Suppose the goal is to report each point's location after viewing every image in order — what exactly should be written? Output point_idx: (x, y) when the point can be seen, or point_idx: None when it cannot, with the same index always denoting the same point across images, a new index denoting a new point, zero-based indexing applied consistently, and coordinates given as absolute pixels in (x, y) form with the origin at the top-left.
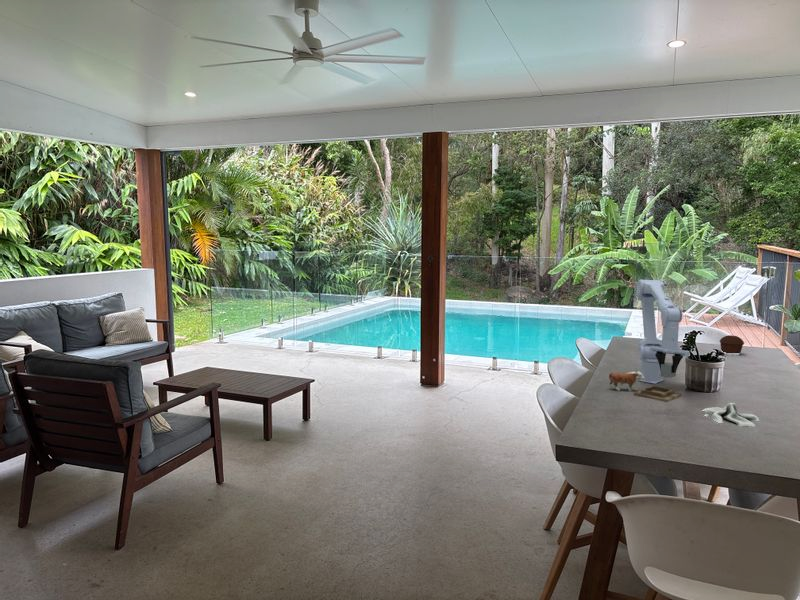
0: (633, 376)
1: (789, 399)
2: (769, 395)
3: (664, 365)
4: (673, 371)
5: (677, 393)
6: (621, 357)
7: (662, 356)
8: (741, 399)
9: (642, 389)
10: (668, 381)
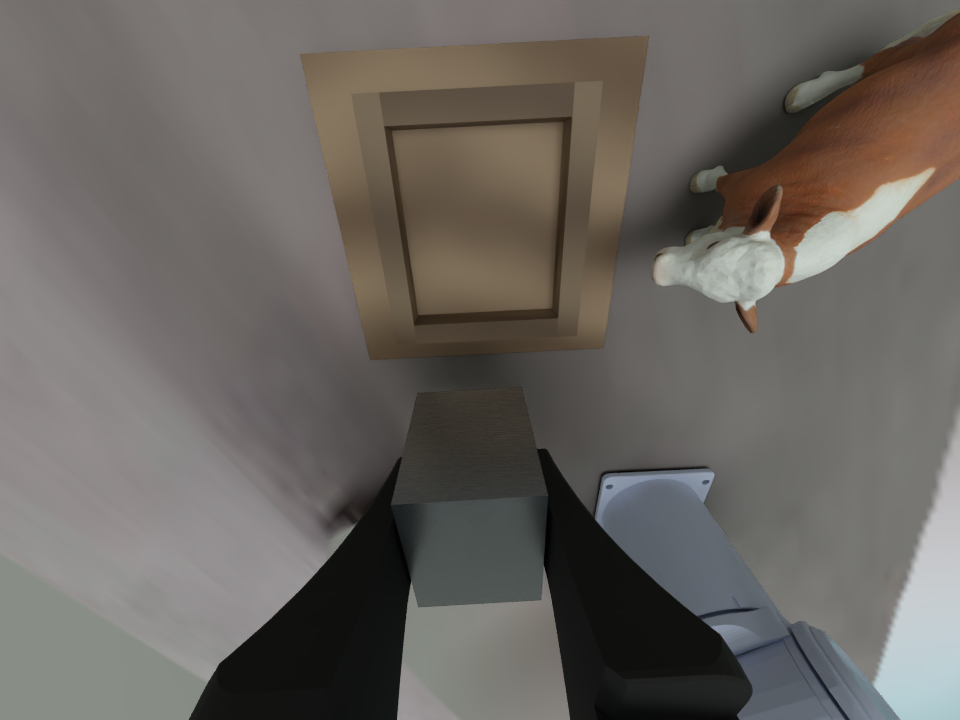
0: (784, 204)
1: (109, 612)
2: (185, 613)
3: (494, 487)
4: (399, 467)
5: (387, 348)
6: None
7: (582, 663)
8: (169, 507)
9: (592, 117)
10: None
